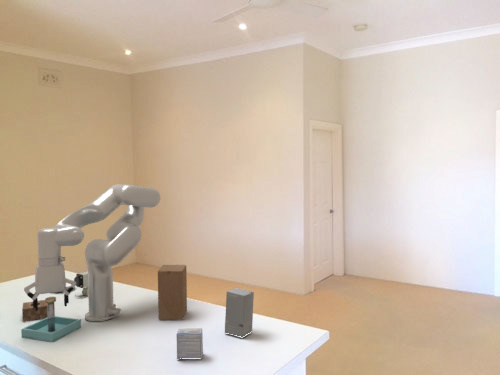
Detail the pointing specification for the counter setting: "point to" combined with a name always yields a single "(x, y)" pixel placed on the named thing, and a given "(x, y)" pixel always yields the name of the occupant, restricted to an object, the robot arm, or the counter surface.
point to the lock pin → (51, 313)
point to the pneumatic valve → (82, 281)
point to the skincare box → (239, 312)
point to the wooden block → (172, 292)
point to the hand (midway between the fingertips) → (51, 307)
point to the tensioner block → (34, 311)
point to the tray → (61, 329)
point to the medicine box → (189, 343)
